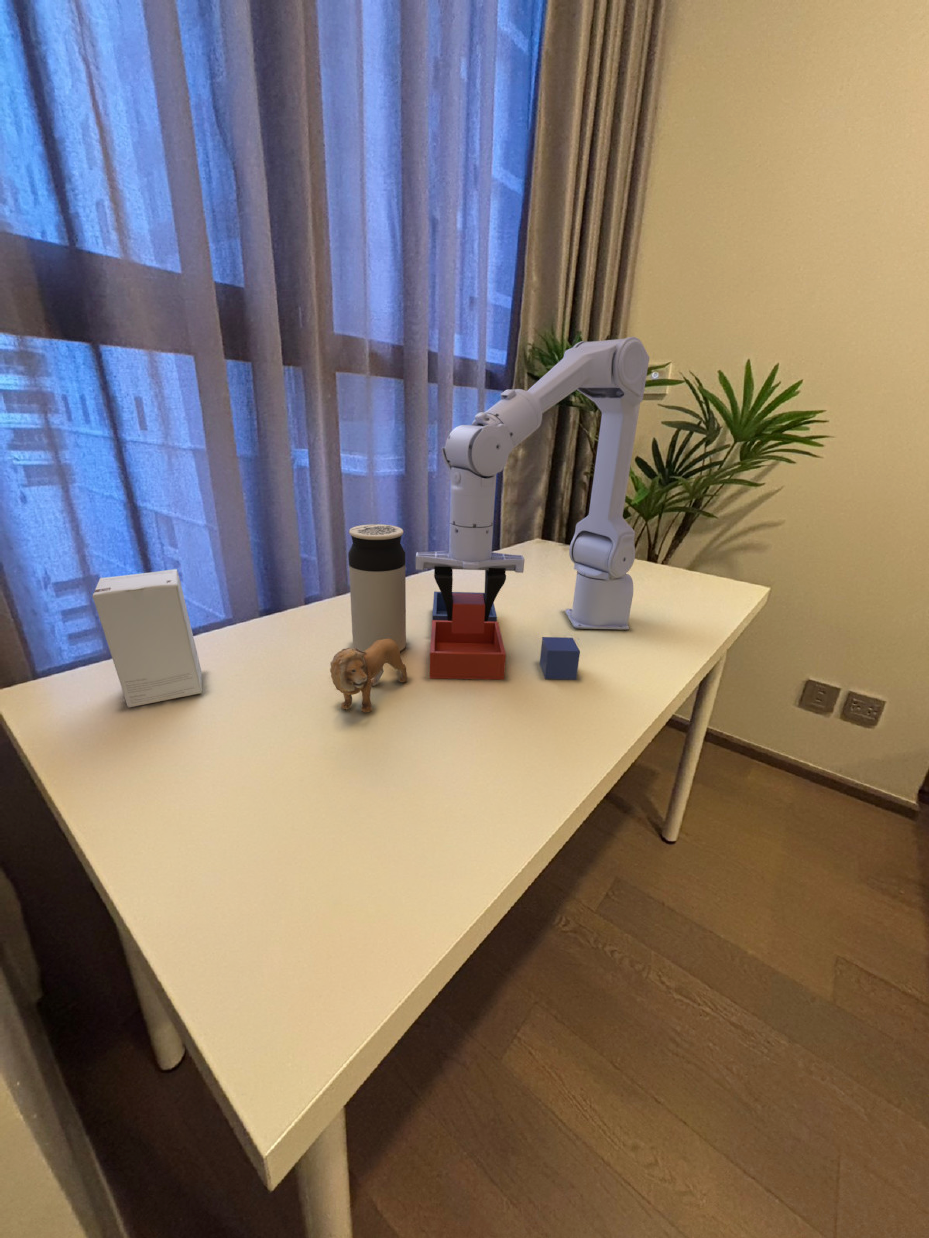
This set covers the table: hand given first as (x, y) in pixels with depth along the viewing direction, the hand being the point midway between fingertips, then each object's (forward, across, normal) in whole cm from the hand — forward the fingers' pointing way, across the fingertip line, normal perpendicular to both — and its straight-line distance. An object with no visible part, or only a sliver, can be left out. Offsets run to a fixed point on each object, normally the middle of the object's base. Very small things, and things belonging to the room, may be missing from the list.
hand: (467, 618), depth 71 cm
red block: (+1, 0, 0) cm, 1 cm away
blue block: (+7, +13, -3) cm, 15 cm away
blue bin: (+7, 0, +13) cm, 15 cm away
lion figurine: (+7, -12, -11) cm, 18 cm away
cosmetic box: (+7, -38, -10) cm, 40 cm away
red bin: (+7, 0, 0) cm, 7 cm away
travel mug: (+7, -13, +4) cm, 15 cm away
